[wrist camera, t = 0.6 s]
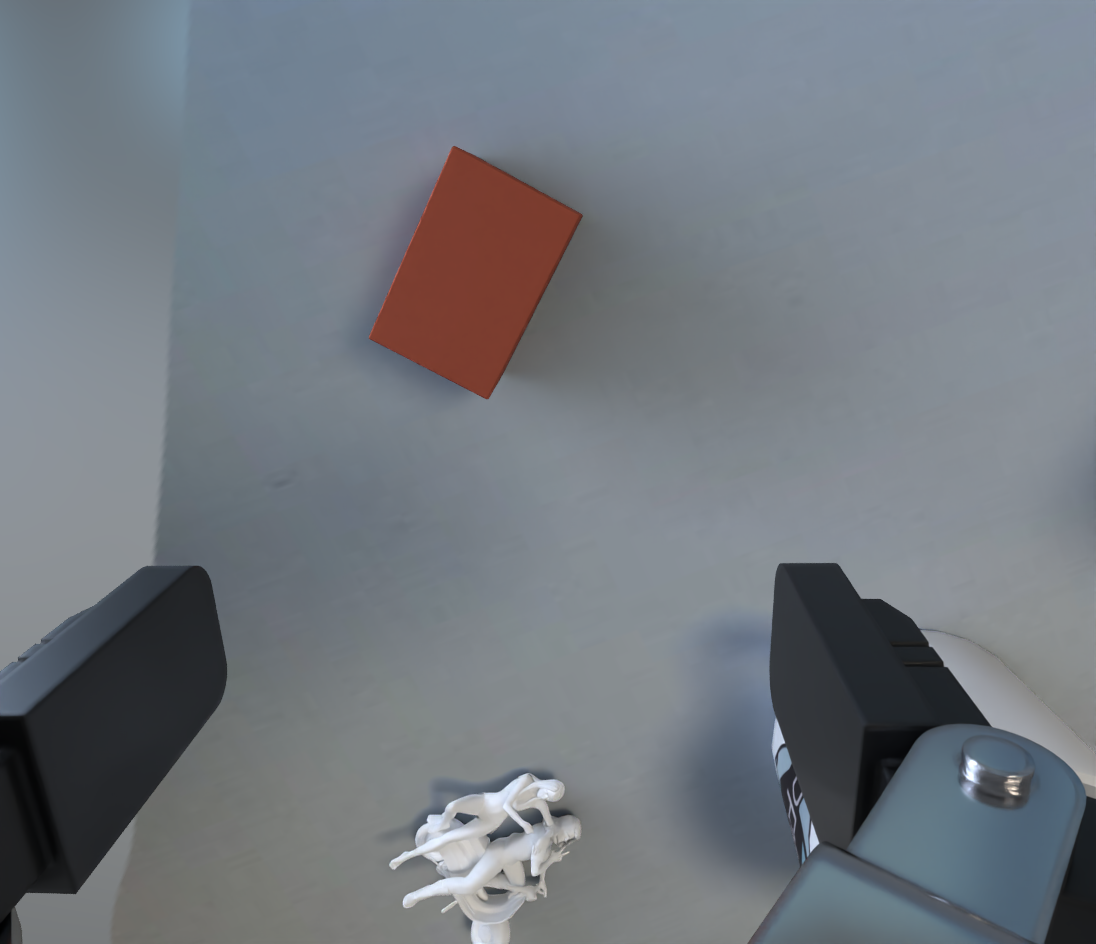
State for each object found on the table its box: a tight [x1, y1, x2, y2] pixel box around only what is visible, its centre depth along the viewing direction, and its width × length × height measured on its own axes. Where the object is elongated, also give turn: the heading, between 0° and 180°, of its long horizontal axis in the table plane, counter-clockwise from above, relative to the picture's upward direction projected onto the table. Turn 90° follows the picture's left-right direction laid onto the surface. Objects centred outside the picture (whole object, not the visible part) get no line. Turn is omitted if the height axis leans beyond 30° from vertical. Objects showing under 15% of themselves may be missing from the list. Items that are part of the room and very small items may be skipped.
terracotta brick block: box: [369, 146, 582, 399], centre depth 25 cm, size 6×4×4 cm, turn 153°
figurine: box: [389, 773, 581, 944], centre depth 33 cm, size 3×8×8 cm
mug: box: [772, 630, 1096, 867], centre depth 27 cm, size 13×10×8 cm
